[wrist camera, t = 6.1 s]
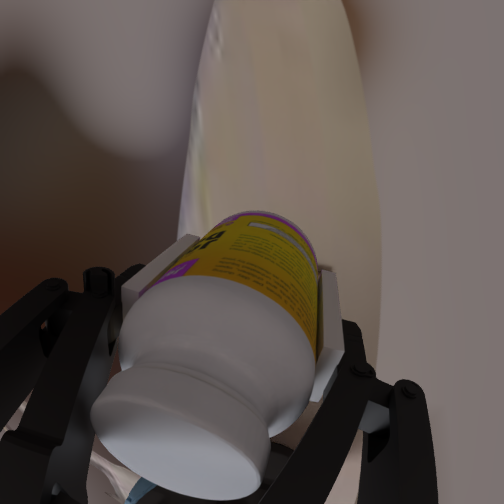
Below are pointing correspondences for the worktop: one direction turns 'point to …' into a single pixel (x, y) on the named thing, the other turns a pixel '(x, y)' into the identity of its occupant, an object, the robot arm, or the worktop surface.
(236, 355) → the supplement bottle
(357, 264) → the worktop surface
